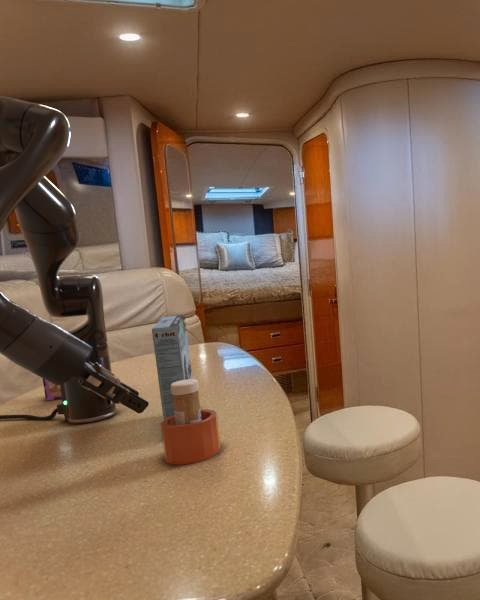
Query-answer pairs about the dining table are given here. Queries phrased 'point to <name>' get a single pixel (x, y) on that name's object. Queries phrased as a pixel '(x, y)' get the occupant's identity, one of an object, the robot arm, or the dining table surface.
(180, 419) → the sprinkles bottle
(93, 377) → the robot arm
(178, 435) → the cup
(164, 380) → the gum box
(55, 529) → the dining table surface
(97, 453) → the dining table surface
